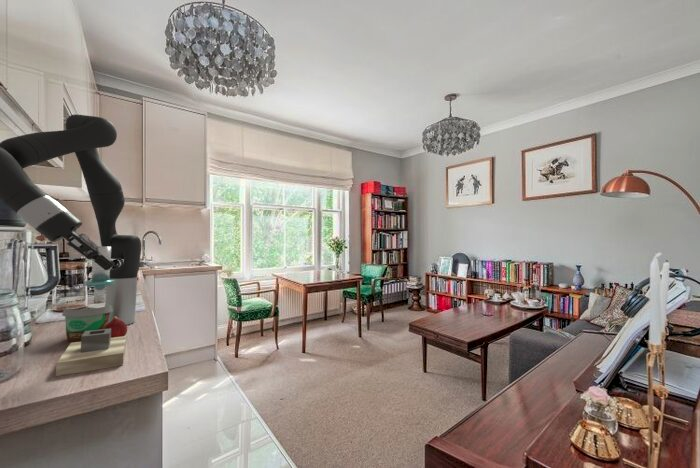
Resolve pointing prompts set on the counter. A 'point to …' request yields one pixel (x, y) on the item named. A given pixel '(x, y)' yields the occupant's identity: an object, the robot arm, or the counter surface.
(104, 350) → the wooden base with socket
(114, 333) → the onion
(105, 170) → the robot arm
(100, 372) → the counter surface
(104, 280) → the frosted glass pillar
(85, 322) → the food container
